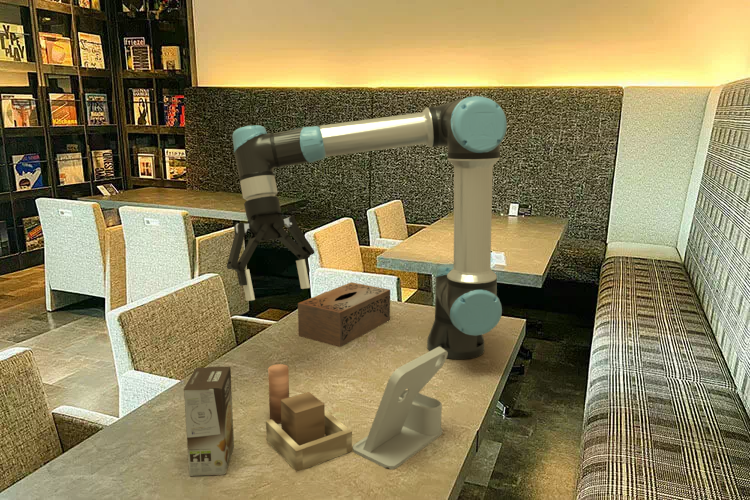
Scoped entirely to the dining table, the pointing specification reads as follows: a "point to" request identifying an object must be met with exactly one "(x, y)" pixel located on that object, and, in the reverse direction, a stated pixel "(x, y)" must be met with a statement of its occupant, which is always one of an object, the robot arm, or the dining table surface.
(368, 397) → the dining table surface
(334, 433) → the wooden u-shaped frame
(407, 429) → the phone holder
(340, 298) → the tissue box cover
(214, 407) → the coffee box
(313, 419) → the block
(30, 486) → the dining table surface
